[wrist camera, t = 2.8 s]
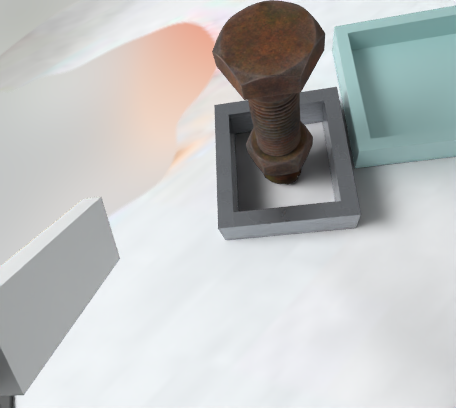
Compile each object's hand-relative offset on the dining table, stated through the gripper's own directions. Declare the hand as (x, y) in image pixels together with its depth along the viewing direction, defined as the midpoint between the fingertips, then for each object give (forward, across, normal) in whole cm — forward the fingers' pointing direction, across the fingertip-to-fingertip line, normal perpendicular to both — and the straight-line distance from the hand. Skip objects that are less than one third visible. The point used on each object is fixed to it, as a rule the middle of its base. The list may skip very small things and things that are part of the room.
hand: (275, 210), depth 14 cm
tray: (+23, +13, 0) cm, 27 cm away
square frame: (+19, 0, -4) cm, 19 cm away
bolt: (+19, 0, -5) cm, 19 cm away
